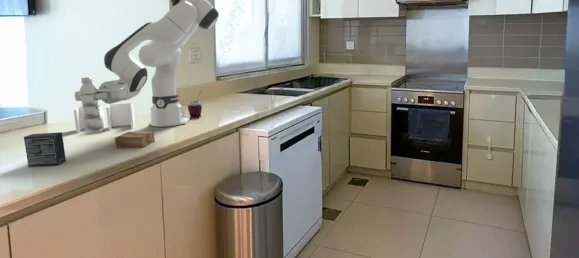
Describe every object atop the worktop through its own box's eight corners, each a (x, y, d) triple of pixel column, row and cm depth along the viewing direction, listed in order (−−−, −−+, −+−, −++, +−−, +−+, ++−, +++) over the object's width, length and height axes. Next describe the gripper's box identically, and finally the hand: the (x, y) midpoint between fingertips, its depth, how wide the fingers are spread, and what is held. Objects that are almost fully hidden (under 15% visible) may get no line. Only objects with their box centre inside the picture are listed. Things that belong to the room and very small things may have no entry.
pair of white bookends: (135, 124, 235) (132, 102, 233) (133, 128, 225) (131, 105, 223) (81, 129, 230) (78, 106, 228) (76, 133, 219) (73, 109, 217)
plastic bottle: (83, 133, 175) (75, 78, 172) (86, 130, 182) (78, 77, 179) (101, 131, 177) (94, 77, 174) (104, 128, 183) (97, 76, 180)
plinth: (129, 141, 195) (128, 131, 194) (154, 141, 194) (153, 131, 193) (116, 147, 185) (114, 137, 184) (143, 147, 183) (141, 136, 182)
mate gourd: (186, 117, 250) (184, 88, 248) (200, 115, 255) (197, 87, 252) (192, 118, 245) (190, 89, 242) (206, 116, 249) (204, 88, 246)
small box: (67, 160, 168) (63, 131, 166) (59, 165, 161) (54, 135, 159) (36, 162, 168) (32, 133, 166) (27, 167, 161) (22, 136, 159)
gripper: (87, 85, 192) (62, 90, 179) (131, 82, 186) (109, 87, 173) (89, 101, 193) (65, 106, 180) (133, 99, 187) (111, 104, 174)
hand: (87, 97), depth 176 cm, fingers closed on plastic bottle, 6 cm apart
